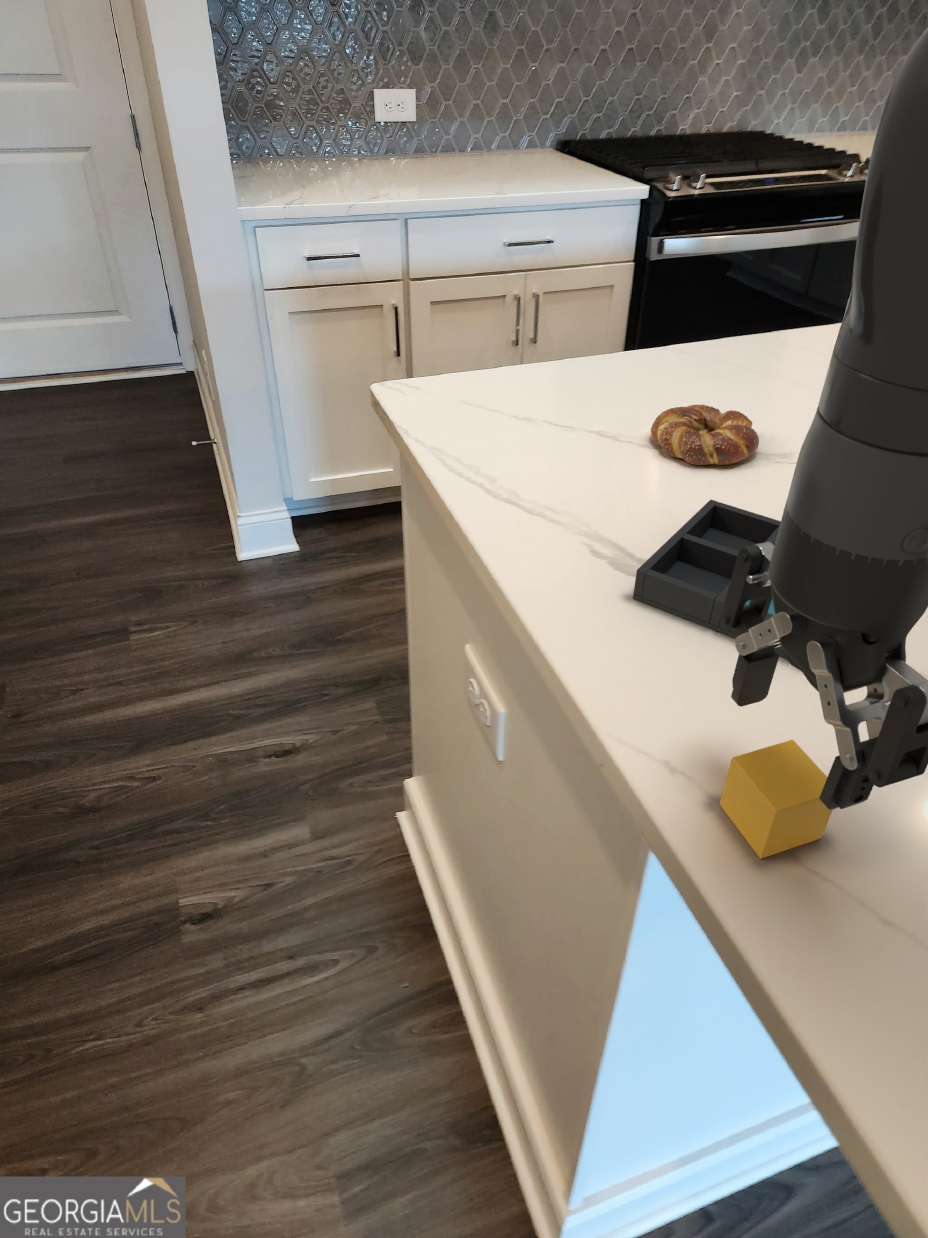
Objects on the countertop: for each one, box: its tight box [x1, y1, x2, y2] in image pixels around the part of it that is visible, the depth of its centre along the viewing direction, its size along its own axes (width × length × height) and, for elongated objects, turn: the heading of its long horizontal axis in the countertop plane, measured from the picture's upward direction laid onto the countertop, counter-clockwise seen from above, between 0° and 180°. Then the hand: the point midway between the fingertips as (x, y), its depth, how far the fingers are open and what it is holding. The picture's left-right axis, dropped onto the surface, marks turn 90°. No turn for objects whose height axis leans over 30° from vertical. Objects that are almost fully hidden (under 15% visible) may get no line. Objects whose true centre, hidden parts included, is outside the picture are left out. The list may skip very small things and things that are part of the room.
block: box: [719, 739, 834, 860], centre depth 51 cm, size 4×4×4 cm
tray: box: [632, 499, 785, 658], centre depth 71 cm, size 15×15×3 cm
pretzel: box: [650, 404, 760, 466], centre depth 93 cm, size 12×11×4 cm
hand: (789, 747), depth 49 cm, fingers open, 8 cm apart
